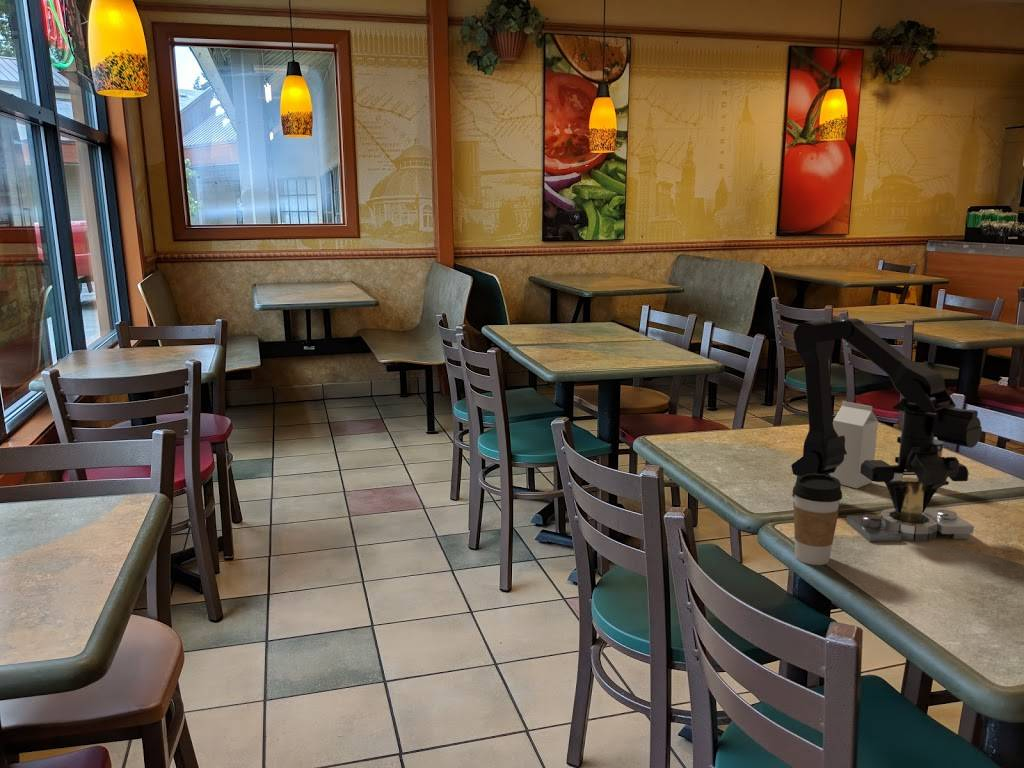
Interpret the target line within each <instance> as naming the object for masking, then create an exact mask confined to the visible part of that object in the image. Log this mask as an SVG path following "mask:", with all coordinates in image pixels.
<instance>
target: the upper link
mask: <svg viewBox="0 0 1024 768" xmlns="http://www.w3.org/2000/svg"><path fill="white" fill-rule="evenodd" d="M880 517H881V518H882V520H881V523H882V524H883V525H885V526H886V527H888V528H890V529H893V530H896V531H900V532H905V533H911V534H914V533H915V534H930V533H933V532H936V531H937V532H938V533H939V534H941V535H948V537H951V538H952V539H953V540H969V539H970V536H971V535H970V534H974V528H975V526H974V525H973V524H971V523H970V522H968V521H967V520H965V519H963V518H962V517H960V516H959V515H958V513H957V512H955V511H953V510H949V509H947V508H946V507H926V509H925V511H924V512H923V513H922V520H921V522H923V523H924V524H911V523H905V522H901V521H898V520H895V519H893V518H897V512H896V510H895V507H893V508H892V507H891V508H887V509H882V510H881V512H880ZM968 538H969V539H968Z"/></svg>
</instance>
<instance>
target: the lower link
mask: <svg viewBox="0 0 1024 768" xmlns="http://www.w3.org/2000/svg"><path fill="white" fill-rule="evenodd" d="M893 519H895V520H896V518H893ZM881 520H882V518H881V516H878V515H876V514H869V513H866V514H862V515H846V523H847V525H849V526H850V527H851V528H852V529H853V530H854V531H856V532H857V533H858V534H859V535H860V536H862V537H863V538H864V539H865V540H866V541H868V542H869V543H899V542H900V543H901V542H902V541H910V542H916V541H919V542H930V541H933V540H935V538H937V532H938V531H936V532H933V533H930V534H915V533H914V534H911V533H905V532H900V531H896V530H893V529H890V528H888V527H886V526H885V525H883V524H882V523H881ZM921 524H924V523H923V522H921ZM902 539H903V540H902Z"/></svg>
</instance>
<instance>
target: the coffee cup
mask: <svg viewBox="0 0 1024 768" xmlns="http://www.w3.org/2000/svg"><path fill="white" fill-rule="evenodd" d="M796 479H797V480H796ZM796 479H795V481H796V482H795V484H794V486H793V489H792V493H793V494H794V495H795V498H794V502H793V525H794V526H793V527H794V528H793V530H794V534H793V535H794V556H795V559H796V560H797V561H799V562H801V563H804V564H807V565H813V566H822V565H823V566H824V565H827V564H828V563H830V558H831V552H832V546H833V543H834V537H835V532H836V528H837V527H836V526H837V523H838V517H839V512H840V507H839V506H840V500H842V499H843V492H842V489H841V486H842V485H841V484H840V481H839V480H838V479H837V478H835V477H832V476H829V475H825V474H806V475H803V476H800V477H799V478H797V477H796Z"/></svg>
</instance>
